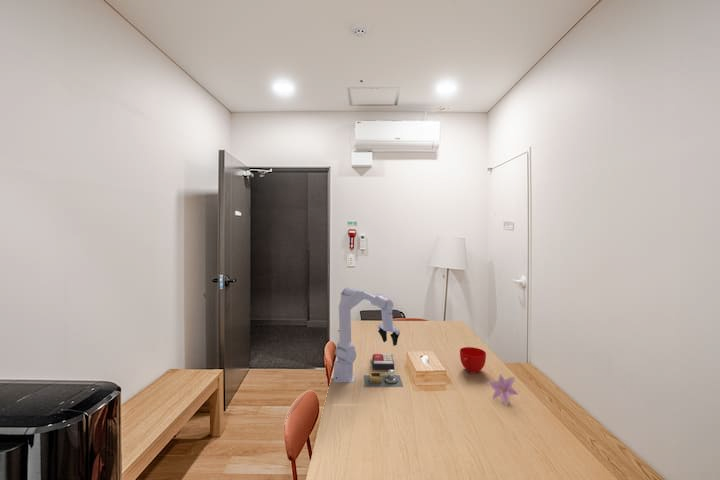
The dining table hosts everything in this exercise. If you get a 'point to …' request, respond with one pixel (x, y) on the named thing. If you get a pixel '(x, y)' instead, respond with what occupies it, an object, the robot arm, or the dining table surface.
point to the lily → (503, 388)
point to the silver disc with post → (391, 377)
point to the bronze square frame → (375, 377)
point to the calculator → (383, 362)
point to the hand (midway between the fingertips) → (390, 343)
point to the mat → (384, 384)
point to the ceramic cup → (472, 359)
